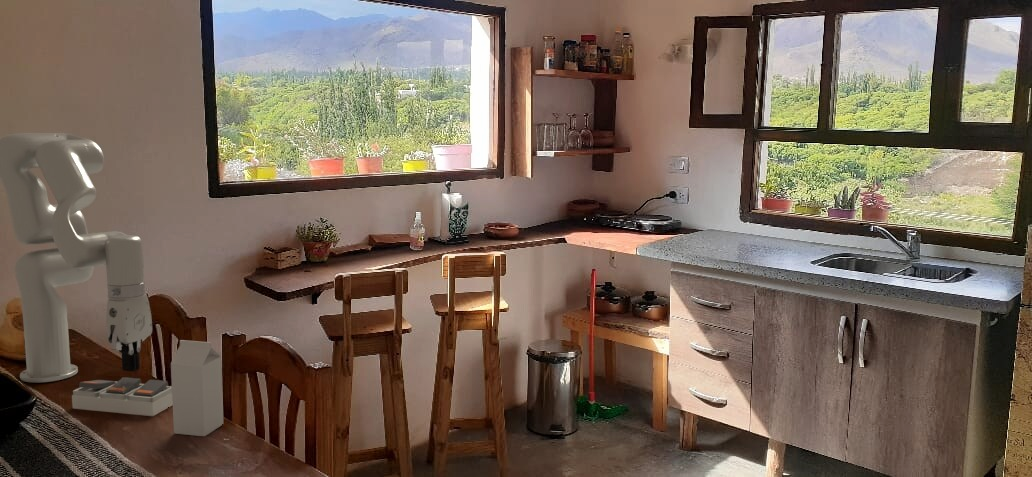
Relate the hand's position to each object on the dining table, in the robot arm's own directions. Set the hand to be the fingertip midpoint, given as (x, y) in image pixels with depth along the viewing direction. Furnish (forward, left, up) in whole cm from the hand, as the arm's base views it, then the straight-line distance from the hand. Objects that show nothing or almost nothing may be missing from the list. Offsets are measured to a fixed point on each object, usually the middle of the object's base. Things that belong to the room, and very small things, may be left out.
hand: (131, 369), depth 186 cm
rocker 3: (+7, +1, -3) cm, 8 cm away
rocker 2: (+1, -2, -3) cm, 4 cm away
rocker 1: (-5, -6, -3) cm, 8 cm away
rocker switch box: (+1, -2, -8) cm, 8 cm away
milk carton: (+26, +2, -8) cm, 27 cm away
